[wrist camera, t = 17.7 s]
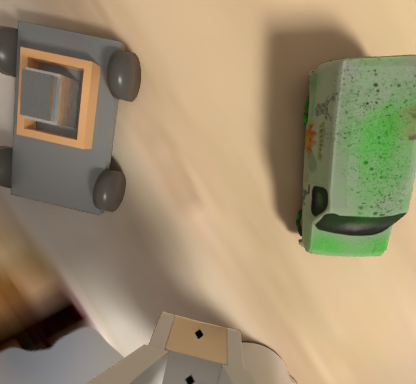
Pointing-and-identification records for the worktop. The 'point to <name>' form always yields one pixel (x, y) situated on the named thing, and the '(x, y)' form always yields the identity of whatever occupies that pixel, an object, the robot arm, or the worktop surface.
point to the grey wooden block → (49, 97)
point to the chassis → (61, 135)
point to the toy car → (358, 154)
